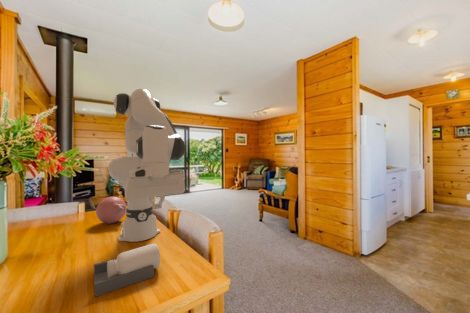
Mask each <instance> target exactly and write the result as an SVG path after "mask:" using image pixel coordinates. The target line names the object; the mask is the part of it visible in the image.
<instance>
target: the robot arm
mask: <svg viewBox="0 0 470 313" xmlns="http://www.w3.org/2000/svg"><path fill="white" fill-rule="evenodd" d="M113 108H114V110H115V112H116V113H117V114H120V115H126V116H129V117H127V119H126V122H125V128H124V138H125V140H124V141H125V142H124V144H125V148H126V150H127V151H128V152H129V153H131V154H133V155H136V156H123V157H121V156H120V157H117V158H113V159H112V160H111V161H110V162H109V164H108V166H107V167H108V169H107V170H108V174H109V176H110V177H111V178H112V179H113V180H114V181H116V182H118V183H119V185H121V186H122V187H123V190H124V197H125V199H126V213H125V216H126V217H125V220H124V221H123V222H121V223H120V228H121V229H120V233H119V237H118V241H119V242H128V243H129V242H132V243H135V242H142V241H146V240H149V239H152V238H154V237H155V236H156V235H157V234H159V233H160V232H161V229H159V228H158V222H157V216H156V215H155V214H154V210H157V209H158V210H159V209H162V207H163V205H162V204H163V203H164V202H165V196H173V195H180V194H181V195H182V194H184V193H185V191H186V185H185V171H184V170H182V169H181V168H177V169H175V168H173V169H172V168H171V169H170V161H179V160H180V159H181V158H182V157H183V156H184V155H185V153H186V144H185V141H184V139H183V138H182V137H181V136H180V135H179V133H178V132H177V130H176V128H175V127H174V125H173V123H172V121H171V119H170V118H169V116H168V114H166V113H165V112H163V111H161V103H160V101H159V100H158V99H155V98H154V97H153V95H152V94H151V92H150V91H149V90H147V89H145V88H138V89H135V90H133V91H132V93H130V94H129V93H128V94H127V93H124V92H122V93H118V94H116V95H115V98H114V99H113ZM155 197H156V198H157V197H159V201H158V202H154V200H155Z"/></svg>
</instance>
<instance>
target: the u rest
mask: <svg viewBox="0 0 470 313" xmlns="http://www.w3.org/2000/svg"><path fill="white" fill-rule="evenodd" d="M114 259H115V260H116V259H117V258H114ZM114 259H112V260H114ZM107 261H108V260H106V261H101V262H98V263H94V264H93V275H94V276H93V277H94V284H93V285H94V297H98V296H102V295H105V294H107V293H111V292H113V291H114V292H115V291H117V290H120V289H122V288H125V287H129V286H131V285H135V284H137V283H140V282H143V281H146V280H150V279H152V278H154V277H155V268H154V266H153V265H151V266H147V267H144V268H141V269H138V270H135V271H132V272H129V273H126V274H121V275H118V276H114V277H111V278H108V273H107Z"/></svg>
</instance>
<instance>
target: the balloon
mask: <svg viewBox="0 0 470 313" xmlns="http://www.w3.org/2000/svg"><path fill="white" fill-rule="evenodd" d="M126 209H127V203H126V202H125V200H124V199H123V198H120V197H118V196H108V197H105V198H103V199H102V200H100V202H98V204H97V206H96V209H95V211H96V212H95V214H96V217H97V219H99V221H101V222H102V223H105V224H115V223H118V222H119V221H121V220H122V219H123V217H124V216H126Z"/></svg>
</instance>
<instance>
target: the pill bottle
mask: <svg viewBox="0 0 470 313" xmlns="http://www.w3.org/2000/svg"><path fill="white" fill-rule="evenodd" d="M115 259H116V260H115ZM106 261H107V273H108V278H111V277H114V276H118V275H121V274H126V273H129V272H132V271H135V270H138V269H141V268H144V267H147V266H151V265H153V266H154V269H156V268H159V267H160V265H161V253H160V249H159V246H158V244H157V243H151V244H147V245H143V246H140V247H136V248H132V249H130V250H127V251H123V252H120V253H119V254H118V255H117V257H116V258H114V260H113V259H110V260H106Z"/></svg>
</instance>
